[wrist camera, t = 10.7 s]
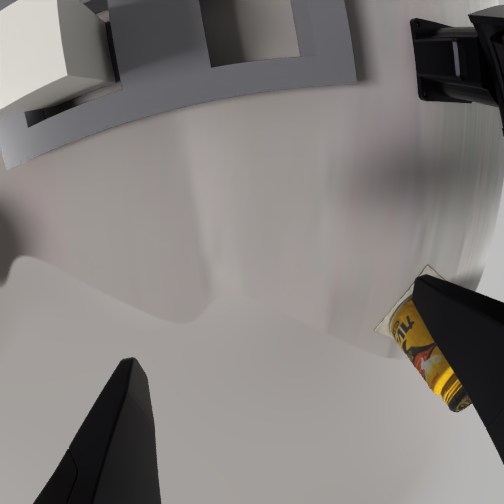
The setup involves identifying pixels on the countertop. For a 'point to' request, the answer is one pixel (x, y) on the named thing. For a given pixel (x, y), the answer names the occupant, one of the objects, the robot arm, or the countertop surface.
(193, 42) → the socket plate
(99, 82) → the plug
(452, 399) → the condiment
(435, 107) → the countertop surface
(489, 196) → the countertop surface
